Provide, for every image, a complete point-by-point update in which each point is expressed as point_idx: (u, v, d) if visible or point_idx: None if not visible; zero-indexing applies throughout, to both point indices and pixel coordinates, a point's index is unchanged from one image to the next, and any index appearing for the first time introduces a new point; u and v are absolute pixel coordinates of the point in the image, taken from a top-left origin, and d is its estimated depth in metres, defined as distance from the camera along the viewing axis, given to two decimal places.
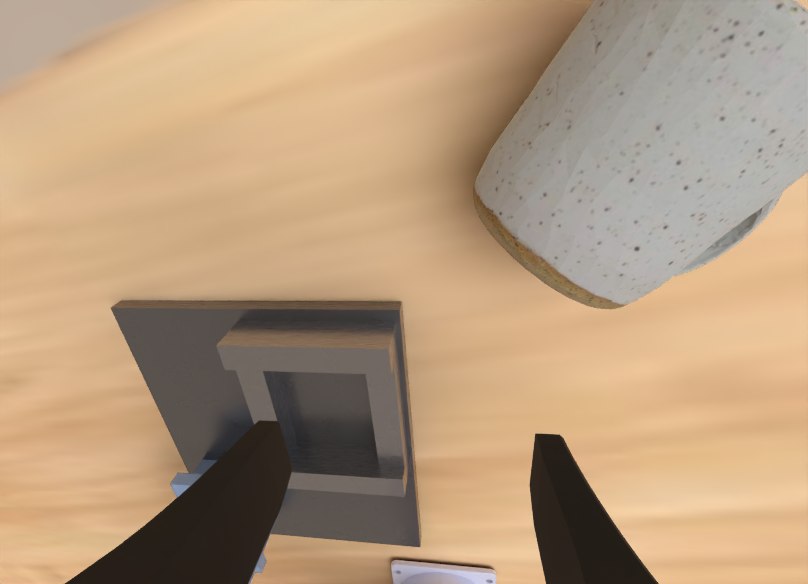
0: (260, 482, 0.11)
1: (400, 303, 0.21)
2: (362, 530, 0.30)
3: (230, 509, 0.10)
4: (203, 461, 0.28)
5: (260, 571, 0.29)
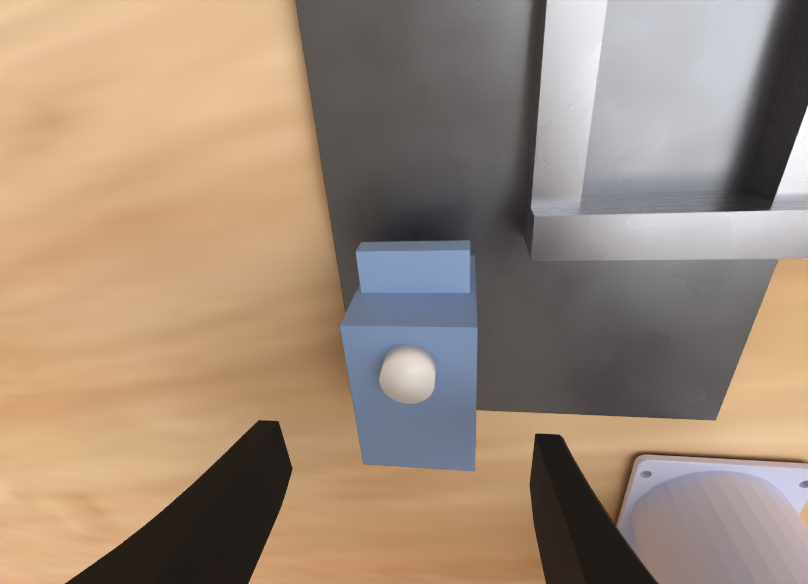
0: (260, 482, 0.11)
1: None
2: (621, 392, 0.18)
3: (230, 509, 0.10)
4: None
5: None
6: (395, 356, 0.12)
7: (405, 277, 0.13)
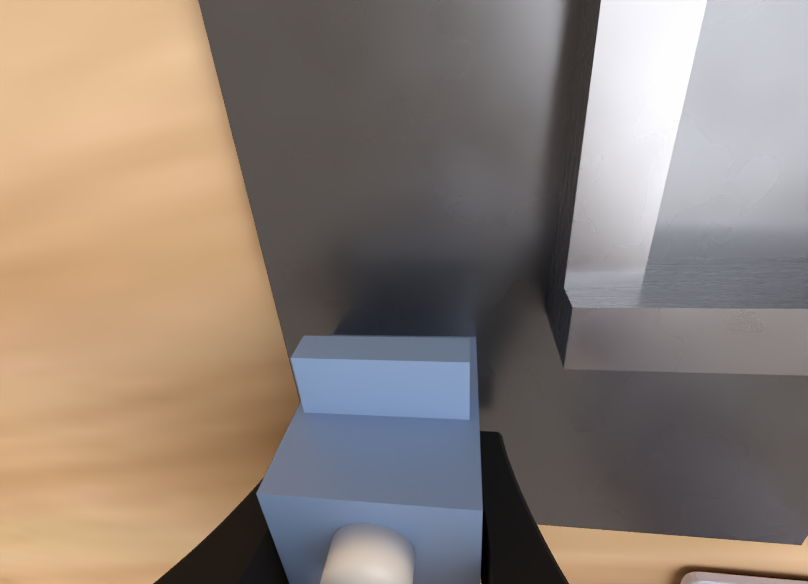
0: None
1: None
2: (674, 507, 0.13)
3: None
4: None
5: None
6: (345, 553, 0.07)
7: (369, 395, 0.09)
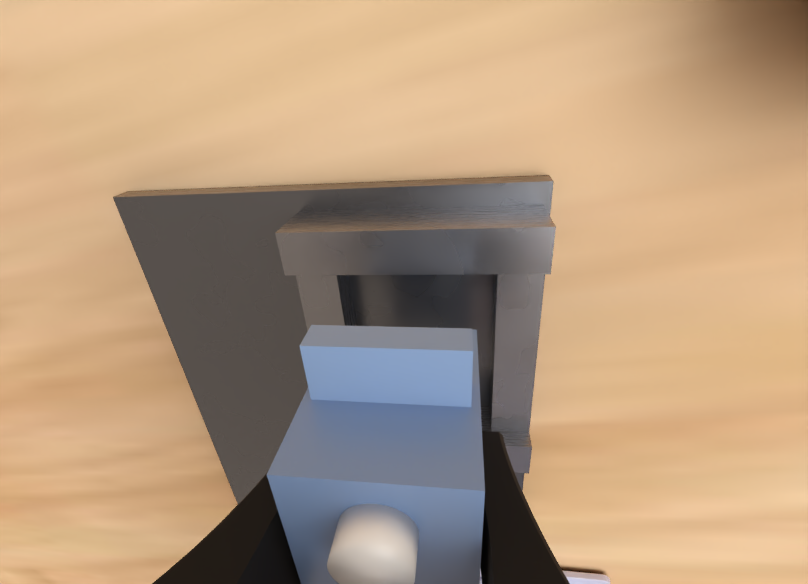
0: None
1: (548, 176, 0.14)
2: None
3: None
4: None
5: None
6: (352, 531, 0.07)
7: (375, 382, 0.09)
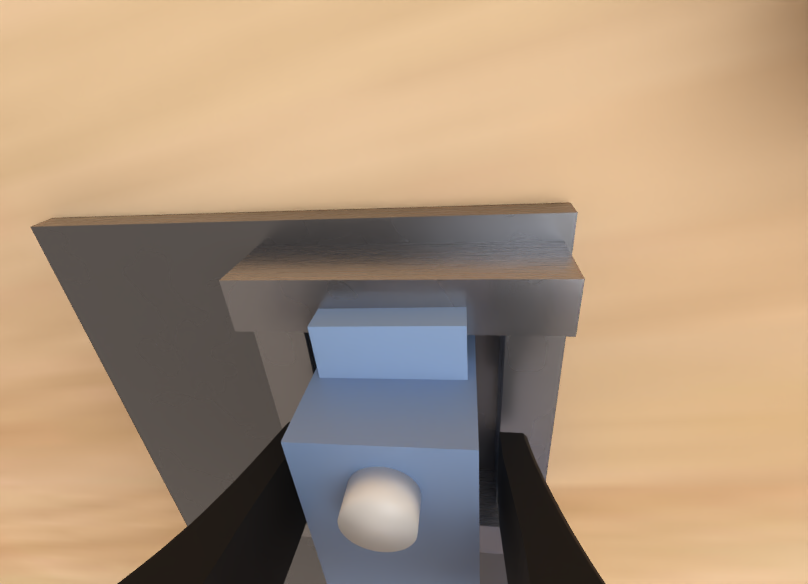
0: (293, 484, 0.11)
1: (570, 205, 0.11)
2: None
3: (267, 512, 0.09)
4: None
5: None
6: (359, 490, 0.08)
7: (377, 359, 0.10)
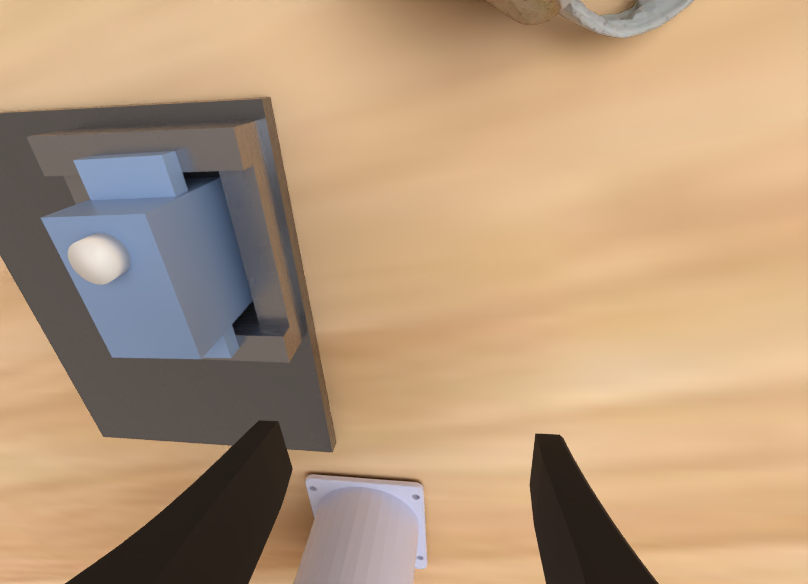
0: (260, 482, 0.11)
1: (267, 97, 0.17)
2: None
3: (230, 509, 0.10)
4: None
5: (229, 354, 0.19)
6: (79, 240, 0.14)
7: (120, 183, 0.16)
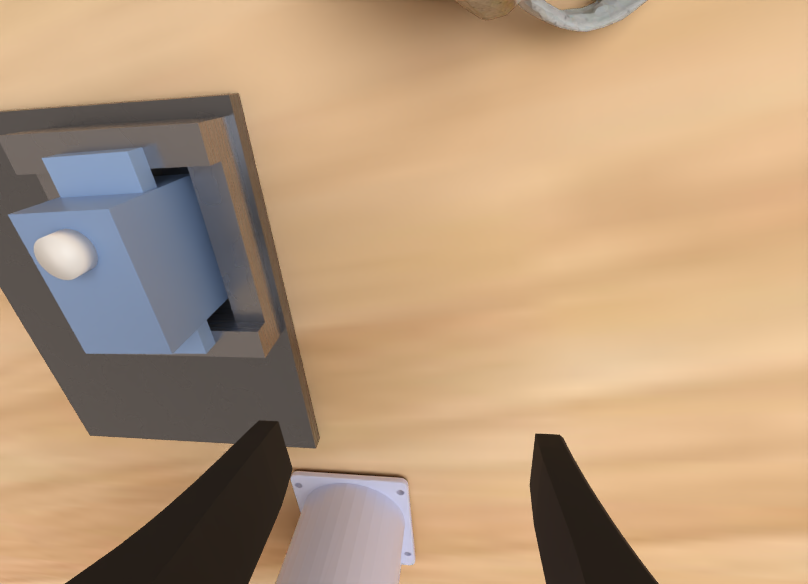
0: (260, 482, 0.11)
1: None
2: (248, 428, 0.26)
3: (230, 509, 0.10)
4: None
5: (204, 350, 0.19)
6: (45, 236, 0.14)
7: (89, 180, 0.16)
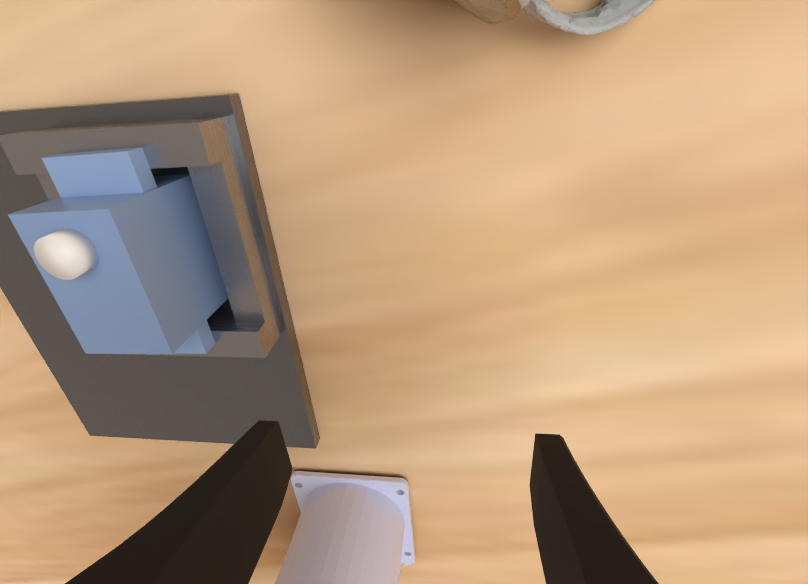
0: (260, 482, 0.11)
1: None
2: (248, 428, 0.26)
3: (230, 509, 0.10)
4: None
5: (204, 350, 0.19)
6: (45, 236, 0.14)
7: (89, 180, 0.16)
